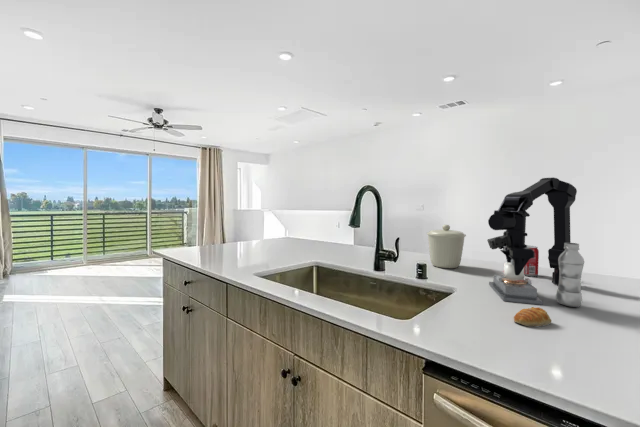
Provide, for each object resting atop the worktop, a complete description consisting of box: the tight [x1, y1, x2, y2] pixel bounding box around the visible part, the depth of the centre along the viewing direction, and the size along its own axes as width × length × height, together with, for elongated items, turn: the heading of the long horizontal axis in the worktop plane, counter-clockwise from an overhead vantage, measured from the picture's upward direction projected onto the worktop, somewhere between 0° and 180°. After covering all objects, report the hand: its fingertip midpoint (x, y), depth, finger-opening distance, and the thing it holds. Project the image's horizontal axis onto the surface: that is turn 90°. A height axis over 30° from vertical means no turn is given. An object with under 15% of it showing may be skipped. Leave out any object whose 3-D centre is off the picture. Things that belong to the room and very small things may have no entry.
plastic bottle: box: [555, 242, 585, 308], centre depth 94 cm, size 6×7×20 cm
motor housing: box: [488, 274, 543, 306], centre depth 106 cm, size 11×20×6 cm, turn 162°
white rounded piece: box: [503, 260, 525, 280], centre depth 106 cm, size 6×6×6 cm
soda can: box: [524, 244, 540, 278], centre depth 133 cm, size 7×7×13 cm
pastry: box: [513, 306, 553, 327], centre depth 82 cm, size 9×7×4 cm
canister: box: [426, 224, 467, 269], centre depth 149 cm, size 18×18×21 cm
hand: (513, 272), depth 106 cm, fingers open, 6 cm apart
